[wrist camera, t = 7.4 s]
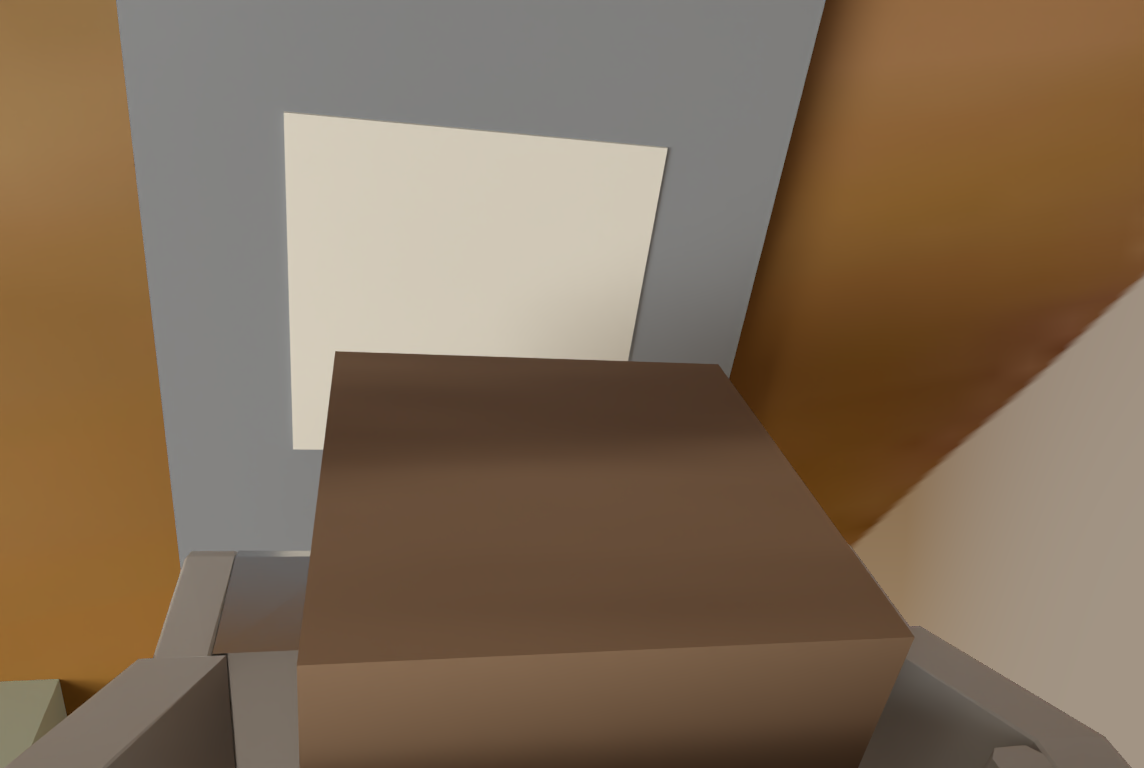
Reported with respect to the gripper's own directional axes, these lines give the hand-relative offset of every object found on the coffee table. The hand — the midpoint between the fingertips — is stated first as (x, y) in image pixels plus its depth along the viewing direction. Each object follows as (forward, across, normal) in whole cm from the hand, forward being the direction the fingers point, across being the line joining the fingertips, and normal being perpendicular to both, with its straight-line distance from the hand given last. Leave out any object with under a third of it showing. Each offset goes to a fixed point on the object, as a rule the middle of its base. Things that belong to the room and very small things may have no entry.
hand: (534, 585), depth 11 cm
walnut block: (+2, 0, 0) cm, 2 cm away
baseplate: (+9, 0, 0) cm, 9 cm away
